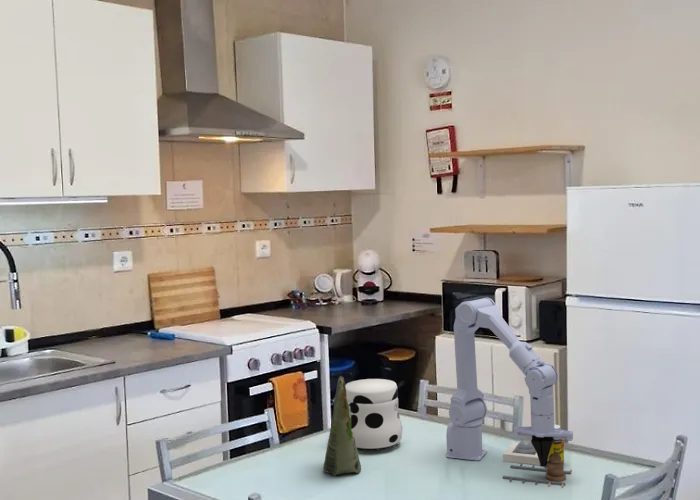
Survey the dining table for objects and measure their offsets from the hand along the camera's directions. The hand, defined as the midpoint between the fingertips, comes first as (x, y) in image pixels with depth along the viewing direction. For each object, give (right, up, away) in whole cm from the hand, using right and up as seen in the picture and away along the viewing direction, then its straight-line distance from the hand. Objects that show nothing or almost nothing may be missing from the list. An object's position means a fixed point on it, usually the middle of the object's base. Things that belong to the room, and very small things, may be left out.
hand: (543, 465), depth 205 cm
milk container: (-42, -3, +31) cm, 53 cm away
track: (-1, -3, +1) cm, 3 cm away
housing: (-1, -2, +15) cm, 15 cm away
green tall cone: (-51, -5, +11) cm, 52 cm away
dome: (-1, -2, +15) cm, 15 cm away
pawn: (+3, -3, -1) cm, 4 cm away
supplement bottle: (+5, -2, +9) cm, 11 cm away
